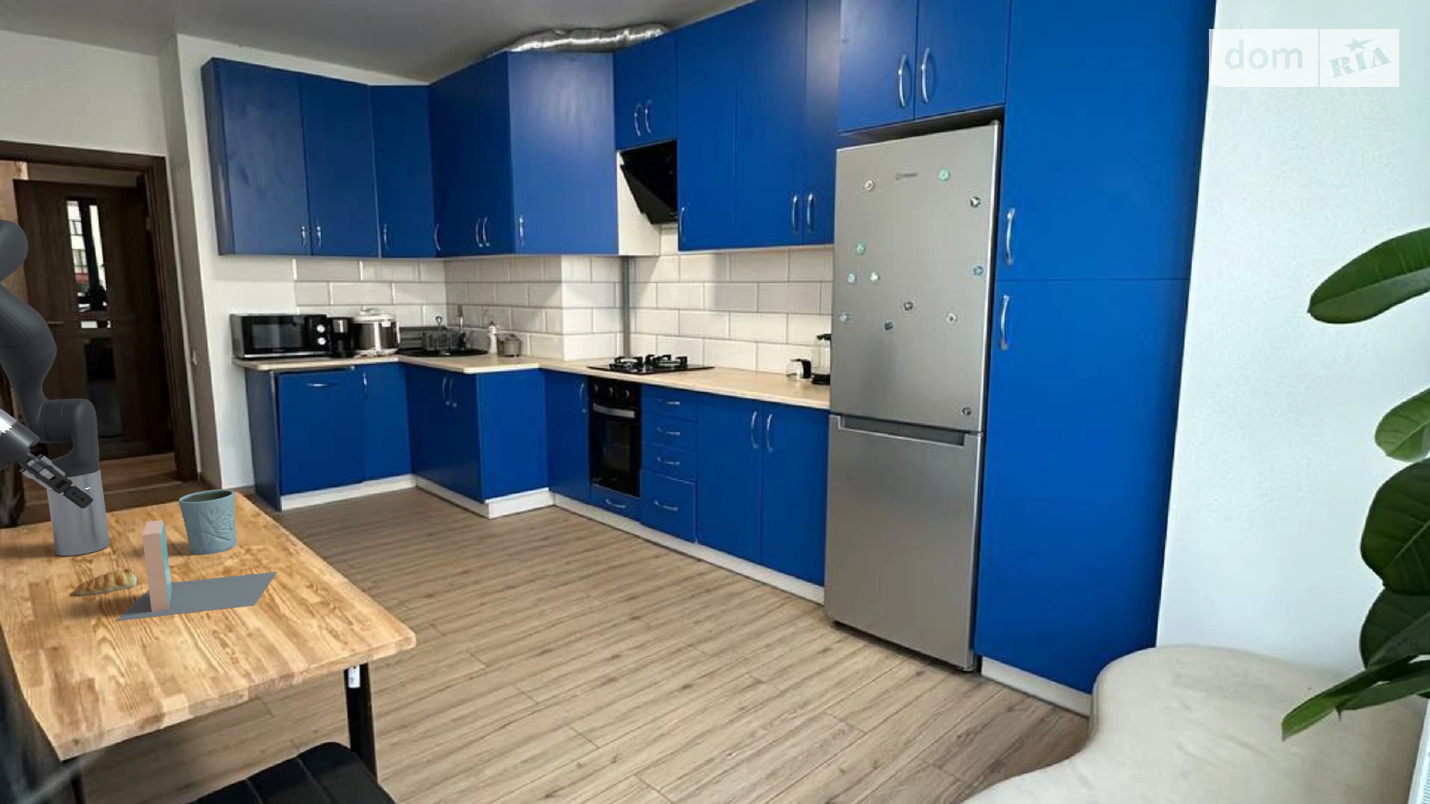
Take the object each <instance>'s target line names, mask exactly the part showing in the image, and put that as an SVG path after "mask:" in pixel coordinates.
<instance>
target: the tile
mask: <svg viewBox="0 0 1430 804" xmlns="http://www.w3.org/2000/svg"><path fill="white" fill-rule="evenodd" d="M141 535H142V542H143V543H142V544H143V551H144V559H145V567H146V575H147V584H148V590H149V593H150V601H151V609H152V612H155V611H160V610H165V609H169V606H170V600H171V594H172V585H171V583H172V576H171V569H170V561H169V552H168V543H167V537H166V535H167V534H166V529H165V522H164V520H163V519H158V520H151V521H146V523H145V527H144V528H143V532H142V534H141Z"/></svg>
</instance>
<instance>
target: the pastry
mask: <svg viewBox="0 0 1430 804" xmlns="http://www.w3.org/2000/svg"><path fill="white" fill-rule="evenodd" d="M137 580H138V579H137V577H136V573H135V569H134V568H133V567H128V568H127V569H120V570H113V571H112V570H111V571H108V572H106V573H105V574H99V575H98V576H95V577H94V578H90V579H89V580H86V581H84V582H83V583H82V582H81V583H80V584H78V586H76V588H74V591H73V592H74V595H75V596H77V597H78V596H79V597H85V596H94V595H100V594H101V595H102V594H109V593H113V592H118V591H123V590H127V589H128V590H129V589H134V588H136V587H137V585H138V584H137Z"/></svg>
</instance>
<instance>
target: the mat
mask: <svg viewBox="0 0 1430 804" xmlns="http://www.w3.org/2000/svg"><path fill="white" fill-rule="evenodd" d="M277 573H278V571H271V572H262V573H260V572H259V573H252V574H241V575H233V576H224V577H213V578H212V577H211V578H202V579H193V580H192V579H191V580H182V581H173V582H172V581H171V585H172V594H171V600H170V606H169V609H165V610H160V611H155V612H152V609H151V601H150V593H149V589H148V590H147V591H146V592H145V593H143V594H142V595H141V597H139V598H138V599H137V600H136V601H135V602H134V603H133V604H132V605H131V606H130V607H129V608H127V609H126V611H125V612H123V613H122V614H121V615H120V616H119V617H118V618H117V619H116V620H115V622H121V621H128V620H139V619H145V618H146V619H148V618H156V617H165V616H172V615H173V616H174V615H184V614H190V613H191V614H192V613H200V612H201V613H202V612H208V611H209V612H211V611H218V610H226V609H227V610H228V609H234V608H236V609H237V608H246V607H253V606H256V604H257V603H258V601H259V600H260V599H261V597H262V595H263V594H264V593H265V591H266V589H267V588H268V587H269V585H270V583H271V582H272V580H274V578H275V576H276V575H277Z"/></svg>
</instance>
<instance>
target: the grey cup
mask: <svg viewBox="0 0 1430 804" xmlns="http://www.w3.org/2000/svg"><path fill="white" fill-rule="evenodd" d="M235 497H236V495H235V491H234V490H231V489H211V490H210V489H209V490H203V491H197V492H193V493H190V494H186V495H183V496H181V497H180V498H179V499H178V504H179V508H180V511H181V514H182V515H181V517H182V519H183V523H184V527H185V532H186V536H187V541H188V545H189V550H190V553H192V554H194V555H201V556H203V555H211V554H218V552H219V553H222V552H225V551H228V549H229V550H232V549H233V548H235V547H236V546H237V533H236V530H237V528H236V518H235V517H236V507H235V504H236V503H235V500H236V499H235ZM235 545H236V546H235ZM234 546H235V547H234ZM232 547H233V548H232Z"/></svg>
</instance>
